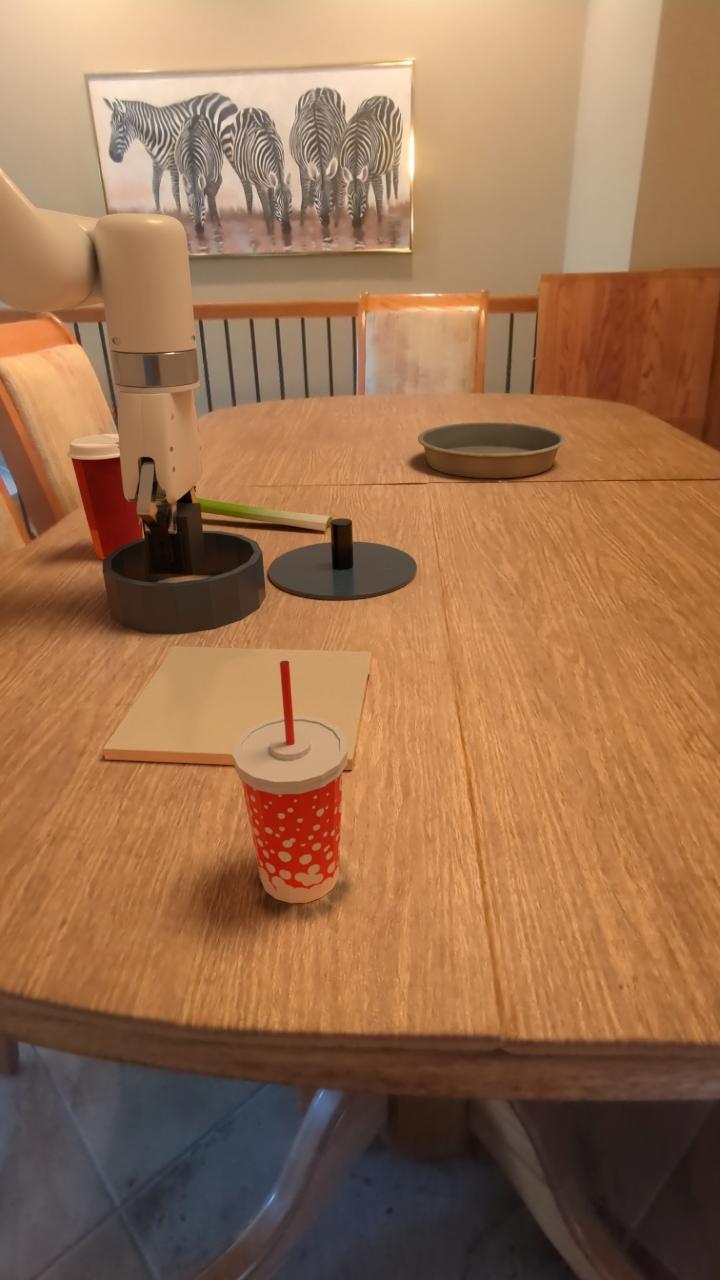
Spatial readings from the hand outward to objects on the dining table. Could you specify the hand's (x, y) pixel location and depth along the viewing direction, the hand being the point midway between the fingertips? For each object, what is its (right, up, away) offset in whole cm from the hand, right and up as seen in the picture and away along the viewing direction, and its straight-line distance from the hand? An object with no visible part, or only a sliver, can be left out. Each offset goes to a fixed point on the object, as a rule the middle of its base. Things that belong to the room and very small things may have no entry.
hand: (177, 558), depth 76 cm
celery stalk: (0, +7, +26) cm, 27 cm away
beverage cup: (+15, -22, -32) cm, 42 cm away
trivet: (+10, -13, -16) cm, 23 cm away
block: (0, -1, 0) cm, 1 cm away
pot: (+1, -5, +2) cm, 5 cm away
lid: (+17, 0, +8) cm, 19 cm away
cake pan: (+41, +22, +53) cm, 70 cm away
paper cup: (-11, +2, +16) cm, 19 cm away
